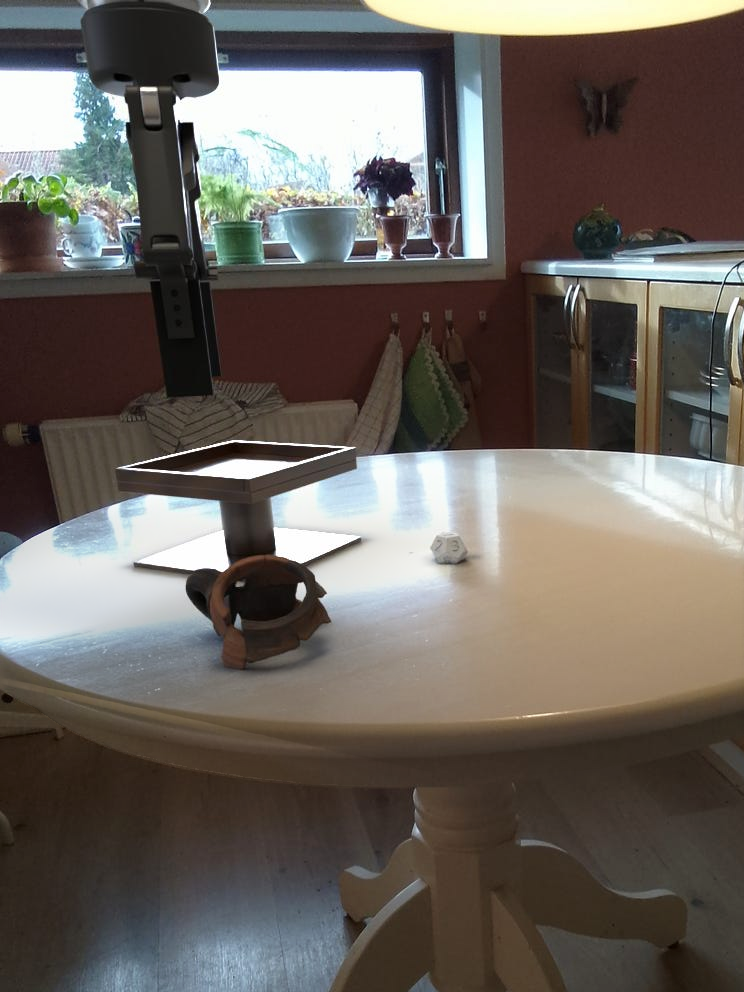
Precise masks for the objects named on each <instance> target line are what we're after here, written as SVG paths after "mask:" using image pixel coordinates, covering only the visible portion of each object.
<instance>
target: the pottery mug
mask: <svg viewBox="0 0 744 992" xmlns="http://www.w3.org/2000/svg"><path fill="white" fill-rule="evenodd" d="M245 579H246V581H245V582H244V583H243V585H240V586H237V583H238V582H240V581H242V580H245ZM302 583H303V584H304V587H305V595H304V597H303V599H302V600H300V599H298V598H297V592H298V586H299V584H302ZM185 594H186V595H187V598H188V599H189V600H190V602H191V603H192V605H193V606H194V608H196V609H197V610H198V611H199V612H200V613H201V614H202V615H203V616H204V617H205V618H207V619H208V620H209V621H210V622H211V623H212V628H213V630H214V631H215V633H216V635H217V636H218V637H220V638H223V643H222V649H221V656H220V659H222V662H223V665H224V666H225V667H227V668H230V669H236V670H237V669H239V670H244V669H245V668H246V666H247V663H248V664H254V663H257V662H261V661H265V660H268V659H271V658H274V657H277V656H281V655H283V654H285V653H288V652H291V651H294V650H296V649H298V648H300V646H301V642H300V641H304V642H305V641H308V640H310V638H311V637H313V635H314V634H315V632H316V631H317V630H318V629H319V627H320V626H322V625H324V624H326V625H327V624H330V623H331V622H332V619H331V617H330V615H329V613H328V610H327V609H326V607H325V606H324V604H323V603H322V602H321V600H320V599H323V598H324V597H325V596H326V595H328V592H327V591H326V589H325V588H324V587H323V586H322V585H321V584H320V583H319V582H318V581H317V579H316V575H315V574H314V573H313V571H311V570H310V569H309V568H308V566H306V567H305V566H304V565H302V564H301V563H299V562H297V561H295V560H291V559H289V558H286V557H282V556H276V555H265V556H263V555H258V556H253V557H248V558H245V559H242V560H240V561H238V562H236V563H234V564H232V565H231V566H229V567H228V568H227V569H225V570H224V571H223V572H222V571H219V570H217V569H214V568H200V569H196V570H194V571H193V572H192V574H191V575H188V577H187V579H186V581H185ZM237 616H239V619H240V624H241V629H240V628H237V627H236V626H235V623H236V621H237Z"/></svg>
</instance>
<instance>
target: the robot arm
mask: <svg viewBox="0 0 744 992" xmlns="http://www.w3.org/2000/svg"><path fill="white" fill-rule="evenodd" d="M76 1H77V2H78V3H79V4H80V5H81V6H82V7H83V8H84V9H86V11H85V12H84V13H83V15H82V17H81V18H80V29H81V34H82V40H83V47H84V53H85V60H86V67H87V72H88V78H89V80H90V82H91V83H92V85H93V86H94V87H95V88H96V89H97V90H100V91H101V92H103V93H106V94H109V95H113V96H118V97H123V98H124V103H125V104H126V105H127V110H128V118H129V121H125V135H126V139H127V143H128V148H129V152H130V154H131V162H132V164H131V165H132V170H133V175H134V179H135V186H136V195H137V206H138V214H139V216H138V217H139V225H140V236H141V245H142V246H141V247H142V248H141V249H140V255H141V260H133V268H134V273H135V277H136V281H143V280H144V281H147V280H149V285H150V286H149V287H150V293H151V299H152V306H153V307H152V308H153V313H154V320H155V326H156V334H157V339H158V340H157V341H158V346H159V352H160V353H159V354H160V361H161V367H162V368H161V369H162V373H163V380H164V387H165V394H166V398H167V399H169V398H171V399H172V398H189V397H207V396H214V395H215V391H214V390H215V389H214V383H213V378H214V377H222V376H223V375H222V369H221V368H222V367H221V360H220V354H219V353H220V352H219V344H218V343H219V342H218V336H217V328H216V327H217V326H216V320H215V319H216V318H215V313H214V304H213V296H212V295H213V294H212V288H211V282H218V281H219V272H218V265H217V266H216V265H210V263H209V259H208V258H207V254H206V246H205V241H204V234H203V233H204V232H203V227H202V226H203V225H202V220H201V213H200V207H199V199H200V198H201V196H202V186H201V179H200V178H201V177H200V171H199V164H198V163H199V161H200V157H201V155H200V145H199V144H200V143H199V138H198V131H197V129H196V126H195V122H194V121H185V122H184V119H183V114H182V113H183V111H182V107H181V101H182V100H183V99H185V98H193V99H196V98H203V97H205V96H208V95H211V94H213V93H215V92H216V91H217V90H218V88H219V86H220V82H221V79H220V70H219V69H220V68H219V61H218V52H217V51H218V50H217V42H216V35H215V34H216V33H215V26H214V24H213V23H212V22H211V21H210V19H209V18H208V17H207V16H206V15H204V14H205V13H206V11H208V9H209V8H210V6H211V0H76Z"/></svg>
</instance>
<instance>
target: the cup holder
mask: <svg viewBox="0 0 744 992" xmlns="http://www.w3.org/2000/svg"><path fill="white" fill-rule="evenodd" d="M357 469H358V463H357V448H356V447H355V446H339V445H336V446H335V445H319V444H301V443H286V442H285V443H284V442H283V443H280V442H265V441H249V440H248V441H247V440H230V441H226V442H225V441H224V442H221V443H216V444H213V445H209V446H206V447H205V446H204V447H201V448H196V449H192V450H188V451H183V452H179V453H174V454H170V455H167V456H166V455H165V456H162V457H158V458H154V459H150V460H145V461H141V462H137V463H132V464H128V465H124V466H120V467H116V468H114V473H115V477H116V478H115V479H116V483H117V485H116V486H117V490H118V492H120V493H127V494H128V493H129V494H141V495H150V496H162V497H172V498H185V499H193V500H194V499H196V500H207V501H215V502H218V503H219V512H220V520H221V527H222V530H219V531H217V532H215V533H212V534H209V535H206V536H203V537H200V538H197V539H194V540H192V541H189V542H186V543H182V544H181V545H178V546H175V547H173V548H170V549H165V550H163V551H161V552H158V553H154V554H153V555H149V556H146V557H144V558H141V559H138V560H136V561H133V562H132V564H133V567H134V568H139V569H145V570H153V571H161V572H168V573H176V574H183V575H188V576H190V575H191V574H192V572H193V571H194V570H196V569H200V568H214V569H217V570H219V571H222V572H223V571H224V570H225V569H227V568H228V567H229V566H231V565H232V564H234V563H236V562H238V561H240V560H242V559H245V558H248V557H253V556H258V555H263V556H265V555H276V556H282V557H286V558H289V559H291V560H295V561H297V562H299V563H301V564H302V565H304V566H305V567H309V566H310V565H312V564H314V563H317V562H318V561H321V560H323V559H326V558H328V557H330V556H332V555H335V554H336V553H339V552H341V551H343V550H345V549H348V548H349V547H350V548H351V546H354V545H356V544H359V543H360V542H361V543H362V536H358V535H349V534H348V535H347V534H339V533H329V532H319V531H310V530H302V529H301V530H299V529H291V528H290V529H289V528H279V527H275V523H274V522H275V521H274V513H273V505H272V498H273V497H277V496H279V495H283V494H286V493H289V492H292V491H295V490H297V489H300V488H304V487H307V486H309V485H313V484H315V483H319V482H322V481H324V480H328V479H331V478H334V477H337V476H340V475H343V474H346V473H349V472H352V471H354V470H357ZM245 581H246V579H245V580H242V581H239V583H240V582H241V583H242V582H243V583H245Z"/></svg>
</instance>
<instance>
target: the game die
mask: <svg viewBox="0 0 744 992" xmlns="http://www.w3.org/2000/svg"><path fill="white" fill-rule="evenodd" d="M429 549H430V550H431V553H432V554H433V556H434V557H435V559H436V561H437V563H438V564H459V562H461V561H463V560H465V559H466V557H467V555H468V553H469V550H468V549H467V546H466V545H465V543H464V541H463V539H462V538H461V536H460V534H459V533H458V532H455V531H453V532H452V531H443V532H441V533H438V534H437V535H435V538H434V540H432V544H431V545H430V547H429Z"/></svg>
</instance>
